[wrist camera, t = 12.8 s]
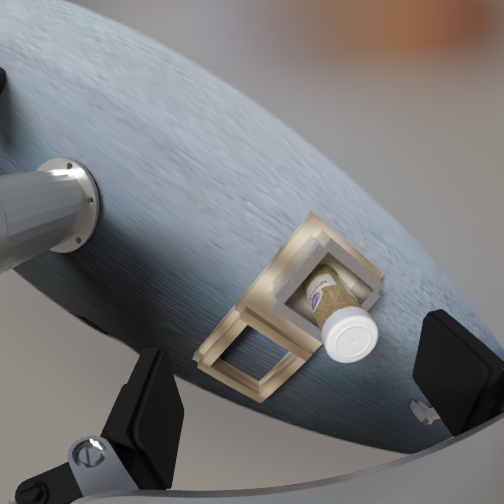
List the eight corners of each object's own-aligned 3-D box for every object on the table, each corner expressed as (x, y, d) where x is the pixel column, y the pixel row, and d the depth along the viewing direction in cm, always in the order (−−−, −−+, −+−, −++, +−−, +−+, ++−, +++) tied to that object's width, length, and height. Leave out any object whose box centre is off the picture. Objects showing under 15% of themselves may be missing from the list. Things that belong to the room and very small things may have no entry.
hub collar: (323, 330, 37) (331, 349, 33) (265, 289, 36) (267, 306, 31) (373, 273, 35) (388, 287, 31) (317, 226, 34) (326, 234, 29)
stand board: (263, 393, 42) (263, 406, 39) (194, 352, 40) (190, 365, 37) (379, 270, 37) (389, 279, 34) (310, 211, 35) (315, 215, 32)
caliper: (407, 402, 44) (420, 426, 37) (410, 398, 43) (424, 421, 37) (471, 405, 45) (484, 423, 39) (474, 401, 45) (487, 419, 39)
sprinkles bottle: (303, 261, 35) (331, 316, 22) (341, 264, 35) (385, 316, 22) (298, 298, 36) (321, 365, 23) (335, 299, 36) (372, 364, 23)
